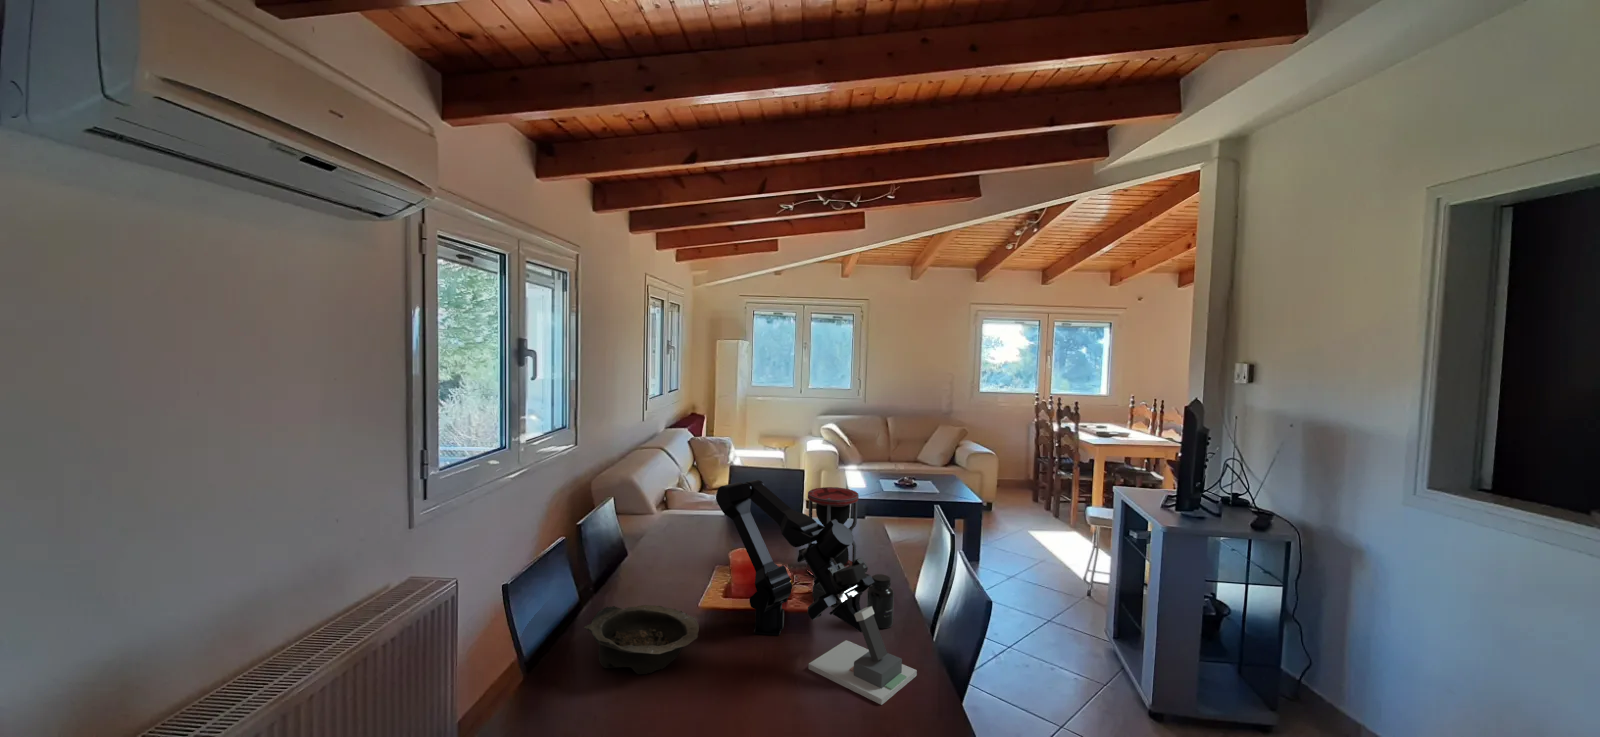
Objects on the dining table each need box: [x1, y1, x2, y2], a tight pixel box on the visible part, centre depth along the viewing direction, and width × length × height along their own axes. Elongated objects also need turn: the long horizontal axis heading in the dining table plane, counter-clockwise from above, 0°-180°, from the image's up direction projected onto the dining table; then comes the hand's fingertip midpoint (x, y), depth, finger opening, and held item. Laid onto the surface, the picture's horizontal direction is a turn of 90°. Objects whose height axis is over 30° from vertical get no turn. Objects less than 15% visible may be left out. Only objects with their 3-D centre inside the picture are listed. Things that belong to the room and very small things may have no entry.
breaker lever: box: [854, 606, 889, 661], centre depth 126 cm, size 2×4×10 cm, turn 139°
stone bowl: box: [583, 604, 700, 675], centre depth 132 cm, size 25×25×9 cm
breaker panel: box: [808, 640, 918, 706], centre depth 127 cm, size 19×14×4 cm
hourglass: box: [805, 486, 860, 579], centre depth 184 cm, size 16×16×25 cm
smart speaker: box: [812, 583, 825, 601], centre depth 164 cm, size 9×9×4 cm
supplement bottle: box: [866, 573, 895, 630], centre depth 150 cm, size 7×7×12 cm
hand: (863, 630), depth 127 cm, fingers closed
